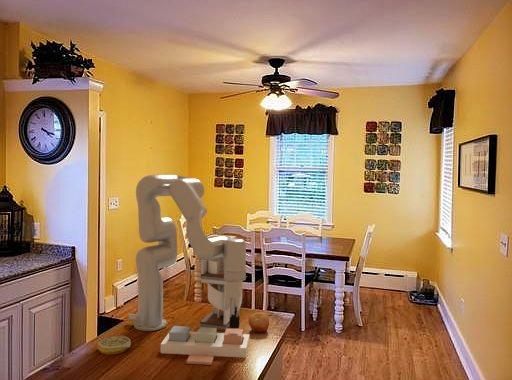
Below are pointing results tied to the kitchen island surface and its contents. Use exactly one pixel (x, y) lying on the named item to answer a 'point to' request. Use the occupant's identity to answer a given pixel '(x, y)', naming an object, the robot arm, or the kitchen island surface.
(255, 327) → the fruit
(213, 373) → the kitchen island surface
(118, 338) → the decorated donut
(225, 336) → the key terracotta
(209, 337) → the key sage
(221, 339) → the keypad board
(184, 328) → the key slate blue
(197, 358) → the tile
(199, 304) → the kitchen island surface
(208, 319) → the tiered shelf stand
